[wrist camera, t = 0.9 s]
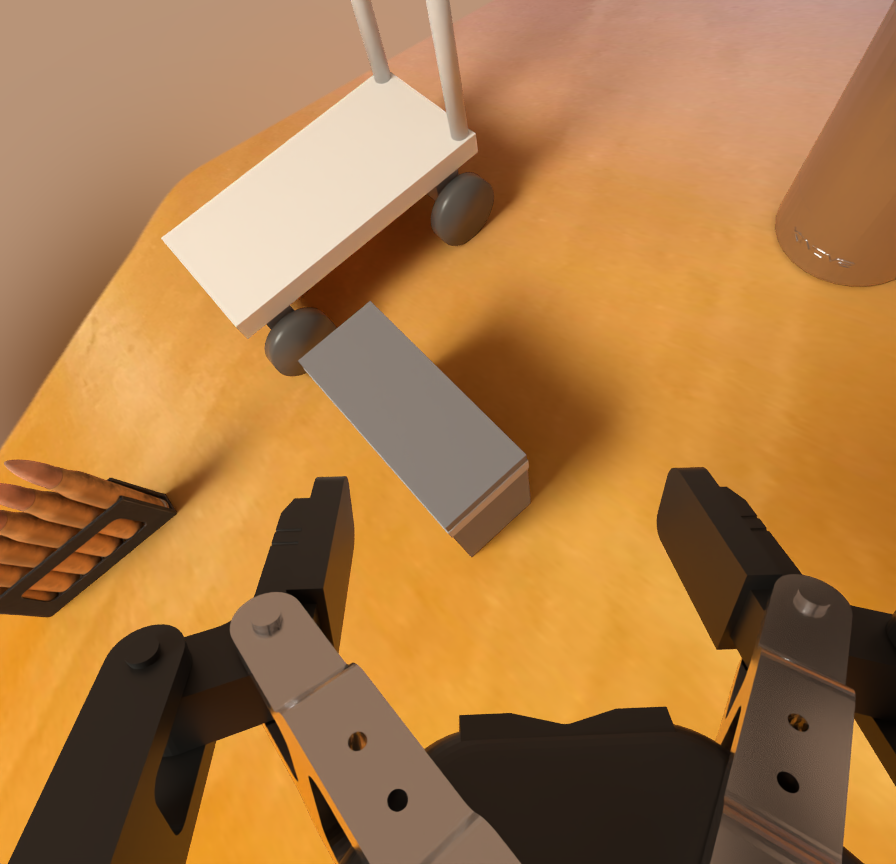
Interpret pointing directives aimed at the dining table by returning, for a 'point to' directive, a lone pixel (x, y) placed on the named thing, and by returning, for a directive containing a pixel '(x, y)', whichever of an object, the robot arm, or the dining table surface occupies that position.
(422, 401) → the grey lidded box
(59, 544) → the ammunition clip
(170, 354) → the dining table surface
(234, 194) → the trolley
